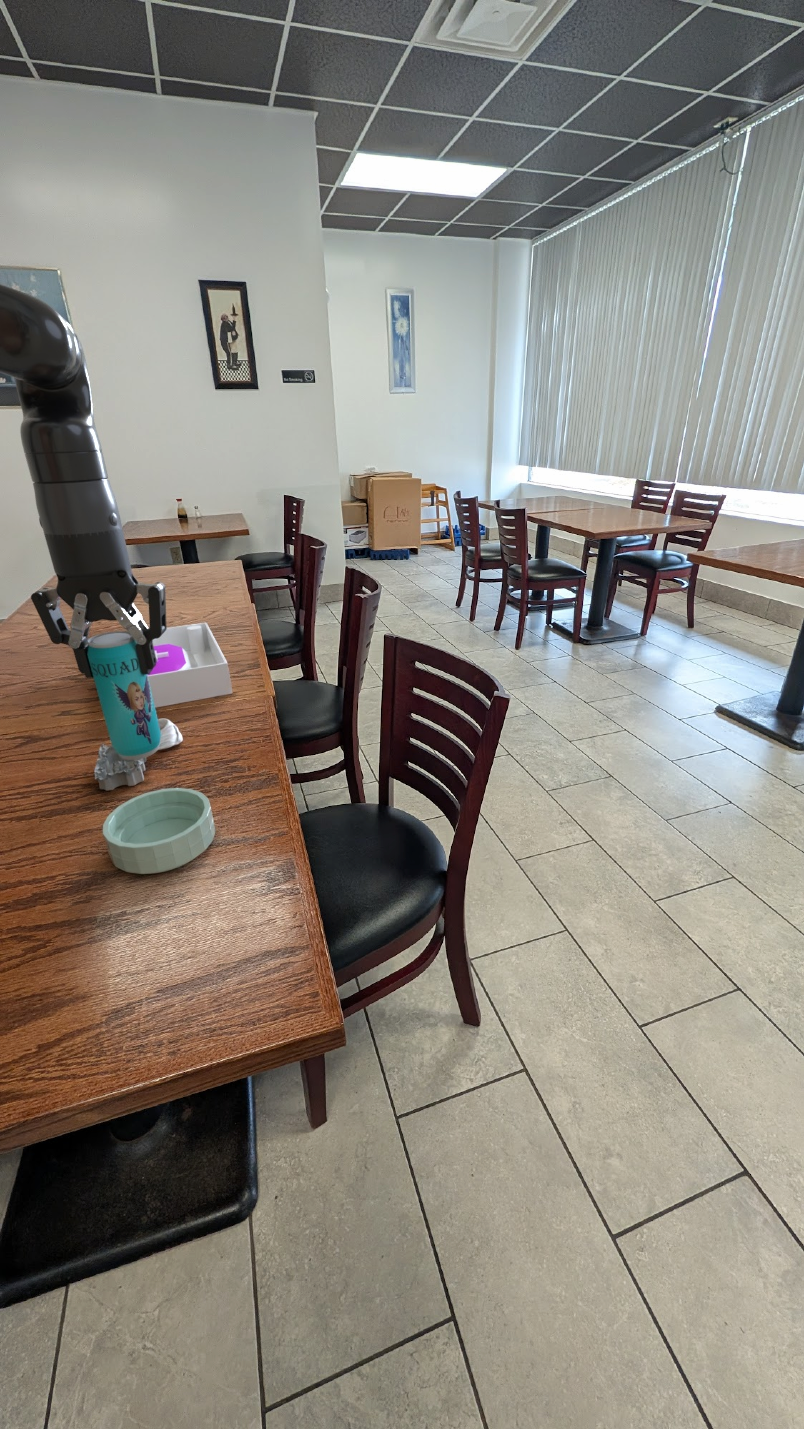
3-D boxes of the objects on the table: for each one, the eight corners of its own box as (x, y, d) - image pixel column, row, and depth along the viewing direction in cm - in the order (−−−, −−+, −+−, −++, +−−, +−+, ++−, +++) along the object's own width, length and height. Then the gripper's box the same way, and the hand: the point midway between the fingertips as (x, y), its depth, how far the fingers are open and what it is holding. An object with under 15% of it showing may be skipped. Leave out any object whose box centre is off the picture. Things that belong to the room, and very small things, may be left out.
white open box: (211, 647, 158) (206, 621, 155) (232, 693, 129) (227, 662, 126) (121, 661, 150) (114, 634, 147) (123, 713, 121) (114, 680, 118)
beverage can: (135, 766, 70) (105, 648, 64) (104, 756, 73) (72, 641, 67) (173, 746, 75) (148, 633, 68) (143, 736, 77) (116, 627, 71)
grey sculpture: (106, 762, 103) (100, 741, 101) (151, 755, 105) (146, 735, 103) (94, 794, 94) (87, 772, 92) (143, 786, 95) (138, 764, 93)
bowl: (96, 883, 74) (86, 851, 72) (130, 820, 87) (122, 791, 85) (205, 873, 76) (198, 842, 73) (223, 812, 88) (218, 784, 86)
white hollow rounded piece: (188, 751, 107) (186, 728, 105) (149, 759, 104) (146, 735, 102) (178, 732, 113) (175, 709, 111) (140, 738, 110) (137, 715, 108)
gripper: (162, 519, 66) (189, 659, 73) (29, 524, 65) (70, 666, 72) (142, 528, 59) (174, 682, 67) (-7, 534, 58) (42, 690, 65)
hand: (120, 673), depth 69 cm, fingers closed on beverage can, 5 cm apart
